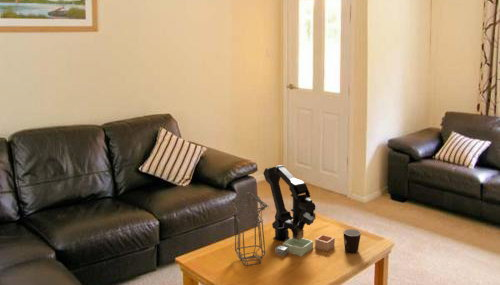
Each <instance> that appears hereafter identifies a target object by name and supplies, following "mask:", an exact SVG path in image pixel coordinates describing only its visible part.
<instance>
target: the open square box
mask: <svg viewBox="0 0 500 285" xmlns="http://www.w3.org/2000/svg"><path fill="white" fill-rule="evenodd" d="M335 241H336V240H335V237H333V236H329V235H326V234H321V235H319V236H318V237H316V238H315V240H314V242H315V243H314V249H315V250H316V249H317V250H320V251H323V252H326V253H328V252H329V251H331V250H333V248H335Z"/></svg>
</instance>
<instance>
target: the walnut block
mask: <svg viewBox="0 0 500 285" xmlns="http://www.w3.org/2000/svg"><path fill="white" fill-rule="evenodd" d="M304 233H305V232H304V229H303V230H302V229H298V232H297V237H294V235H293V234H292V237H291V238H294V239H297V240H300V239H302V238H304Z"/></svg>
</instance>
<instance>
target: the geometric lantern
mask: <svg viewBox="0 0 500 285" xmlns="http://www.w3.org/2000/svg"><path fill="white" fill-rule="evenodd" d="M254 201H257V202H258V203H259V207H258V208H255V207H254ZM233 202H234V203H233ZM245 202H247V204H245ZM229 204H230V206H231V209H232V210H233V212H234V214H235V233H234V236H235V237H234V252H235V254H236V255H237V257H238V258H239V260H240V261H241V260H242V261H241V262H242V263H243V265H244V266H245V265H246V267H248V265H249V266H255V265H260V264H262V259H263V258H264V257H265V256H266V254H267V253H266V246H265V234H264V224H263V222H264V219H262V217H263V211H265V210H266V208H268V207H269V205H268V204H267V203H265V202H264V201H263V200H262V199H261V197H260V196H258V195H255V194H253V193H252V192H249V191H248V192H245V193H244V194H242V195H240V196H237V197H235V198H233V199H231V200H230V201H229ZM250 205H251V207H252V208H251V207H250ZM244 207H247V208H244ZM243 208H244V209H243ZM256 210H258V211H256ZM244 211H245V212H244ZM246 211H247V213H246ZM250 211H251V212H252V213H251V214H250ZM238 212H239V214H238ZM242 213H243V214H244V215H241V214H242ZM250 216H253V217H254V219H253V220H254V222H247V223H244V222H245V221H246V219H247V218H248V217H250ZM240 217H245V218H244V220H243V221H242V222H241V220H240ZM256 220H257V222H256ZM252 224H254V245H248V246H245V238H244V237H245V232H244V225H245V226H246V225H252ZM256 224H257V225H256ZM256 228H258V229H257V230H258V241H259V245H257V236H256V235H257V231H256ZM241 230H242V232H241ZM261 231H262V232H261ZM241 233H242V247H241ZM262 240H263V241H262ZM252 247H253V248H254V249H253V251H252V252H247V253H245V252H246V250H245V249H247V248H252ZM256 247H258V248H257V250H256ZM241 249H243V250H242V251H243V253H242V252H241ZM260 249H261V256H260V255H259V254H258V252H259V250H260ZM249 254H252V255H250V256H249ZM246 255H248V256H246ZM246 257H247V258H246ZM248 259H251V260H248ZM253 261H259V262H258V263H250V264H249V262H253Z"/></svg>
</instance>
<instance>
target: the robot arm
mask: <svg viewBox="0 0 500 285" xmlns="http://www.w3.org/2000/svg"><path fill="white" fill-rule="evenodd" d="M262 173H263V177H264V179H265V181H266V182H267V184H268V185H269V186H270V190H271V194H272V199H273V203H274V207H275V211H276V212H275V216H274V221H273V222H272V224H271V225H272V226H271V227H272V229H273V230H274V237H273V238H272V239H274V240H276V241H278V242H285V241H287V240H288V239H290V238H291V237H290V235H289V233H290V232H289V230H290V231H291V232H292V236H293V235H294V237H297V232H298V229H302V230H304V228H305V225H307V226H311V225H312V224H314V220H316V212H315V210H316V204H315V203H314V202H313V199H311V195H310V194H311V193H310V191H309V188H308V185H307V184H306V183H305V182H304V181H303V180H301V179H298V178H296V177H295V176H294V175H293V174H291V173H290V172H289V170H288V169H287V168H286V167H285V165H283V164H278V165H275V166H271V167H267V168H265V169H264V170H263V172H262ZM280 179H282V181H284V183H286V185H287V186H288V189H289V192H291V194H290V197H292V208H290V211H291V212H292V215H291V212H290V211H289V210H287V209H286V207H285V206H286V205H285V201H284V197H283V194H282V190H281V186H280V181H281V180H280Z"/></svg>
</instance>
